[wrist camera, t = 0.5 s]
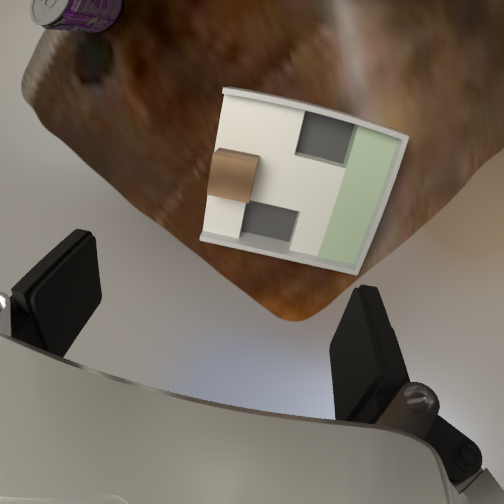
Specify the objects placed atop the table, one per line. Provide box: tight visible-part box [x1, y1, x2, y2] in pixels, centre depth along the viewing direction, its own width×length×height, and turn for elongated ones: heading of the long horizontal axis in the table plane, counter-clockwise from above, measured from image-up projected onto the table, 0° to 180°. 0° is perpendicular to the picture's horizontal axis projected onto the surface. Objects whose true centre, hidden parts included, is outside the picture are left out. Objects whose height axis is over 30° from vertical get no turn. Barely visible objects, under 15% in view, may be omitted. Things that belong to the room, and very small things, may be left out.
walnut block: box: [207, 147, 260, 204], centre depth 37 cm, size 5×5×4 cm
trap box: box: [200, 87, 409, 275], centre depth 39 cm, size 20×22×4 cm
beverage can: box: [30, 0, 122, 33], centre depth 25 cm, size 7×7×12 cm
